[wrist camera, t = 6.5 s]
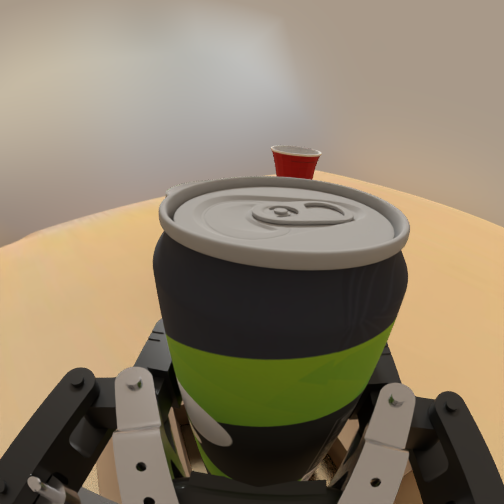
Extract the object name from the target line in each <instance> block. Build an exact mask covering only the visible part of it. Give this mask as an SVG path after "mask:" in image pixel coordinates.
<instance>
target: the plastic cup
mask: <svg viewBox="0 0 504 504" xmlns="http://www.w3.org/2000/svg"><path fill="white" fill-rule="evenodd" d="M271 150H272V152H273V157H274V162H275V167H276V175H277V177H292V178H302V179H310V180H312V178H313V174H314V170H315V166H316V164H317V161H318V158H319V157H320V156H321V154H322V153H321V152H320V151H317V150H314V149H310V148H305V147H297V146H284V145H282V146H272V147H271Z"/></svg>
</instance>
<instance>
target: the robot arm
mask: <svg viewBox="0 0 504 504" xmlns="http://www.w3.org/2000/svg"><path fill="white" fill-rule="evenodd" d="M182 400H183V399H182V396H181V392H180V389H179V385H178V382H177V378H176V374H175V371H174V367H173V363H172V359H171V355H170V351H169V346H168V342H167V338H166V333H165V329H164V324H163V319H160V320H159V321H158V322H157V323H156V325H155V327H154V329H153V331H152V333H151V334H150V336H149V339H148V340H147V342H146V344H145V346H144V347H143V349H142V351H141V353H140V355H139V357H138V359H137V361H136V363H135V364H134V366H133V367H130V368H127V369H124V370H123V371H121V372H120V373H119V374H118V376H117V377H114V378H95V376H94V374H93V373H92V372H91V371H90V370H89V369H87V368H75V369H72V370H71V371H69V372H68V373H67V374H66V375H65V376H64V377H63V378H62V380H61V381H60V382H59V383H58V384H57V386H56V387H55V388H54V389H53V391H52V392H51V393H50V394H49V395H48V397H47V398H46V399H45V400H44V402H43V403H42V404H41V405H40V407H39V408H38V409H37V411H36V412H35V413H34V414H33V416H32V417H31V418H30V420H29V421H28V422H27V423H26V425H25V426H24V427H23V429H22V430H21V431H20V433H19V434H18V436H17V437H16V438H15V440H14V441H13V442H12V444H11V445H10V447H9V448H8V449H7V451H6V452H5V454H4V455H3V456H2V458H1V459H0V504H81V501H80V498H79V496H78V494H77V493H78V492H79V490H80V488H81V487H82V485H83V483H84V482H85V480H86V478H87V477H88V475H89V473H90V472H91V470H92V468H93V467H94V465H95V463H96V462H97V460H98V458H99V457H100V455H101V453H102V452H103V450H104V449H105V447H106V445H107V444H108V442H109V440H110V439H111V437H112V439H113V449H114V458H115V465H116V472H117V479H118V484H119V490H120V495H121V500H122V504H393V503H394V500H395V497H396V495H397V492H398V489H399V486H400V483H401V480H402V477H403V474H404V471H405V468H406V465H407V461H408V459H409V462H410V465H411V467H412V470H413V473H414V476H415V479H416V482H417V485H418V488H419V491H420V495H421V498H422V501H423V504H504V484H503V482H502V479H501V477H500V474H499V472H498V469H497V467H496V465H495V462H494V460H493V458H492V456H491V453H490V451H489V449H488V447H487V445H486V443H485V441H484V439H483V436H482V434H481V432H480V430H479V428H478V426H477V425H476V423H475V421H474V419H473V417H472V415H471V413H470V411H469V409H468V408H467V406H466V404H465V402H464V400H463V399H462V398H461V397H460V396H459V395H458V394H456V393H454V392H451V391H446V392H442V393H441V394H439V395H438V396H437V398H436V399H435V400H434V399H427V398H421V397H416V396H415V395H414V393H413V392H412V390H411V389H410V388H409V387H407V386H406V385H404V384H402V383H401V381H400V378H399V375H398V372H397V369H396V366H395V363H394V360H393V357H392V355H391V352H390V349H389V347H388V344H387V342H386V345H385V347H384V349H383V352H382V354H381V356H380V358H379V360H378V363H377V365H376V367H375V369H374V371H373V373H372V375H371V377H370V380H369V382H368V384H367V386H366V387H365V389H364V391H363V393H362V395H361V397H360V399H359V401H358V403H357V405H356V406H355V408H354V410H353V412H352V414H351V415H350V417H349V420H356V419H358V422H359V427H358V428H357V430H356V432H355V435H354V437H353V439H352V442H351V444H350V446H349V449H348V451H347V453H346V455H345V457H344V459H343V462H342V464H341V466H340V468H339V469H338V471H337V473H336V474H335V476H334V477H333V479H332V480H331V482H330V484H329V486H326V480H315V481H291V482H286V483H281V484H276V485H270V486H264V487H255V486H251V485H248V484H245V483H242V482H239V481H236V480H233V479H230V478H227V477H224V476H218V475H211V474H205V473H200V472H194V471H191V474H190V477H186V474H185V471H184V469H183V466H182V463H181V461H180V458H179V455H178V452H177V448H176V444H175V441H174V437H173V433H172V429H171V424H170V420H169V417H168V414H169V412H170V409H171V407H174V408H179V409H180V406H181V403H182ZM116 429H117V431H116ZM112 435H113V436H112Z"/></svg>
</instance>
